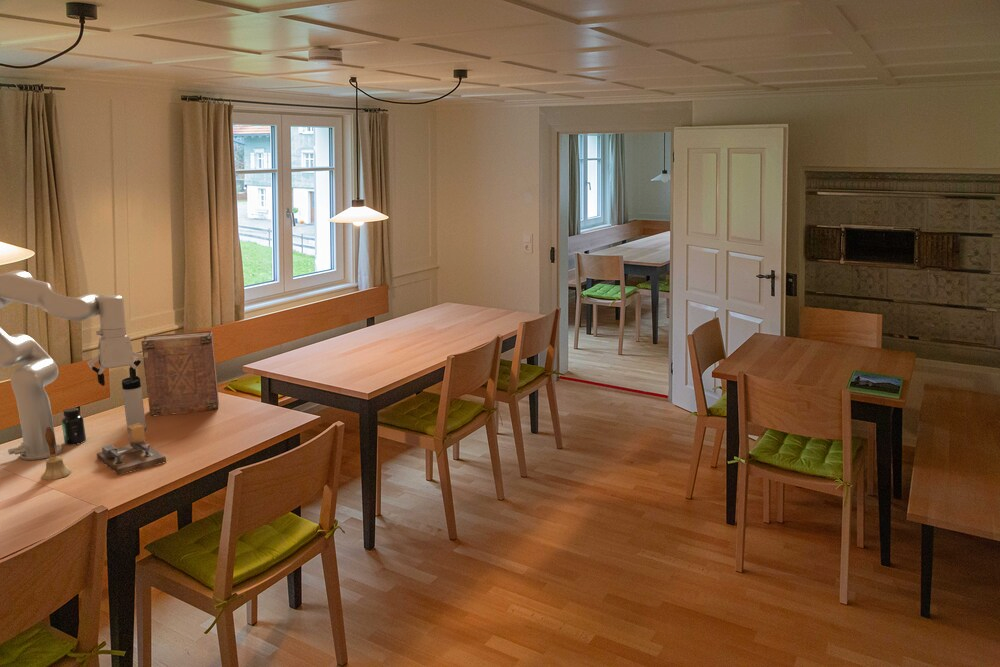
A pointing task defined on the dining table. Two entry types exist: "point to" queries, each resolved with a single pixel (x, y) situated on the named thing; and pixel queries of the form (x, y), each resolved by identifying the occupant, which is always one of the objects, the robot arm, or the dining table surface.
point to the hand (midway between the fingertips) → (117, 382)
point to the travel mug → (133, 402)
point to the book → (180, 372)
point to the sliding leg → (137, 437)
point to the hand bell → (54, 460)
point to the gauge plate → (129, 458)
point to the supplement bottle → (73, 426)
